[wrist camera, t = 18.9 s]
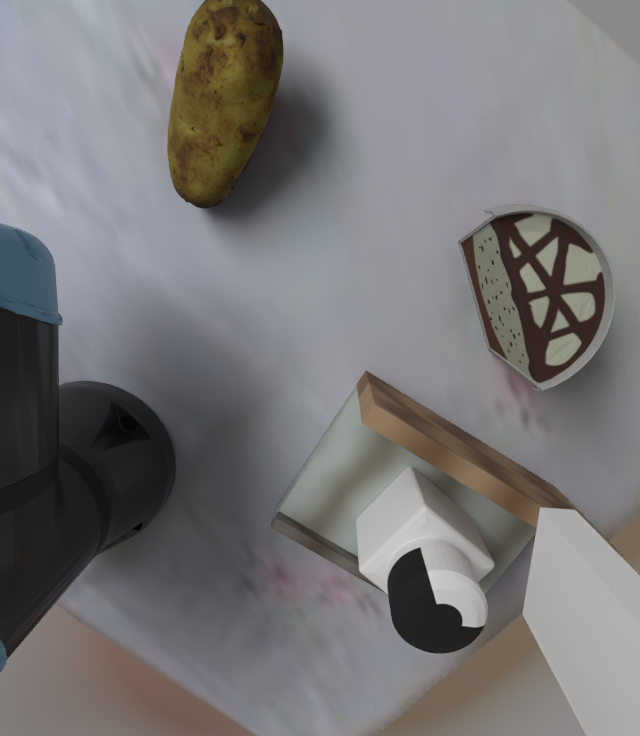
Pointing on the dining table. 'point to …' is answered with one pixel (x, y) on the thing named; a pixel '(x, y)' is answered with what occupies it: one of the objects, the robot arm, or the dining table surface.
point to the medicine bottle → (425, 563)
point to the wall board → (387, 462)
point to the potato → (222, 96)
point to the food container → (539, 291)
